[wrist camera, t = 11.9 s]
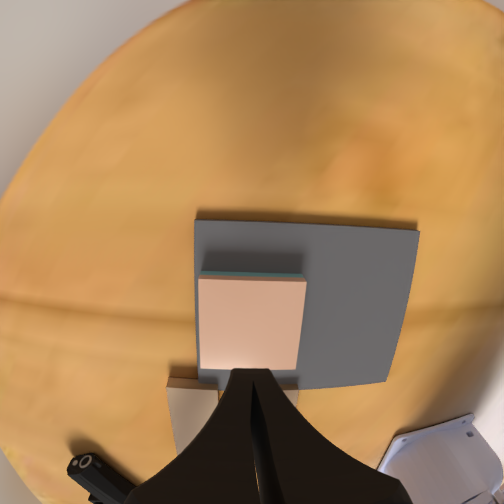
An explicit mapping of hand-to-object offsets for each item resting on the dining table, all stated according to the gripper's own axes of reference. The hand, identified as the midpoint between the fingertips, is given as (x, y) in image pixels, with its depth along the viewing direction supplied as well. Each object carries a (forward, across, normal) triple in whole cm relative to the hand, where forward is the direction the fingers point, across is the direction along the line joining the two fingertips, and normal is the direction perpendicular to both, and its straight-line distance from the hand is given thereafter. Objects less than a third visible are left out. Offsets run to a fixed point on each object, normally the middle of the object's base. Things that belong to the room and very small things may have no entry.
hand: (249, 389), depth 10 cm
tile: (+5, -3, 0) cm, 6 cm away
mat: (+6, -3, 0) cm, 7 cm away
